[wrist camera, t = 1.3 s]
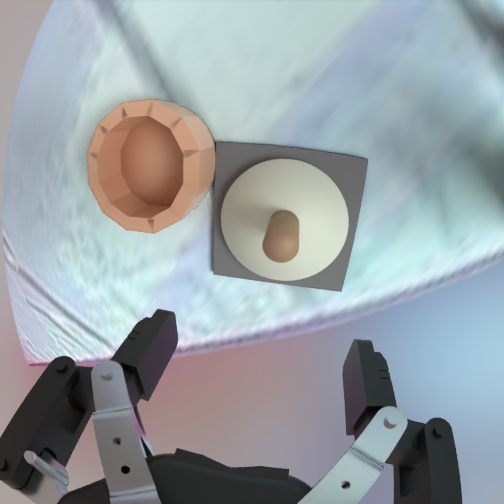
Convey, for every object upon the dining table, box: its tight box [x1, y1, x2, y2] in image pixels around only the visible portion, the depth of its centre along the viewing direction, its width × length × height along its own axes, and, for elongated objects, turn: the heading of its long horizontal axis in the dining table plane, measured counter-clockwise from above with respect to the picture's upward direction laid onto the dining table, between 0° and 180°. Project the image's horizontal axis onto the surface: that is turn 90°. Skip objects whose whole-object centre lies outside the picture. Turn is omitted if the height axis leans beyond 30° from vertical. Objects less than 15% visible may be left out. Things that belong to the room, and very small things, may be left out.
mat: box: [213, 142, 368, 292], centre depth 27 cm, size 14×14×1 cm
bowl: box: [87, 99, 216, 233], centre depth 24 cm, size 12×12×5 cm
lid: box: [221, 158, 349, 281], centre depth 24 cm, size 12×12×6 cm
